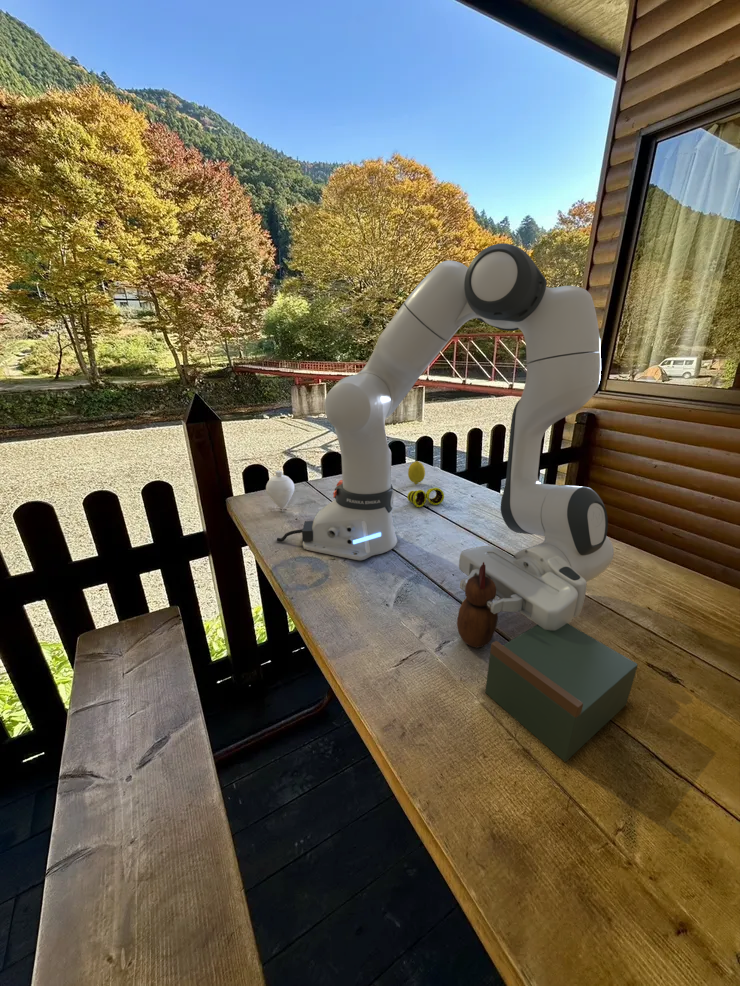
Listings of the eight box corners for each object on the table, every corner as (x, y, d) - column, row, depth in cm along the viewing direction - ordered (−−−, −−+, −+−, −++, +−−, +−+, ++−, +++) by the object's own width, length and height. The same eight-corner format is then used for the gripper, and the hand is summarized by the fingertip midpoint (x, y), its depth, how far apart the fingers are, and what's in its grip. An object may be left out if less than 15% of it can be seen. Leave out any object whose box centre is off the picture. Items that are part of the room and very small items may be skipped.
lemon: (423, 487, 132) (424, 464, 129) (406, 486, 133) (407, 463, 130) (425, 481, 137) (426, 459, 134) (408, 481, 138) (409, 458, 135)
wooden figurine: (486, 659, 62) (496, 574, 57) (451, 645, 65) (457, 563, 60) (499, 633, 68) (509, 553, 62) (465, 621, 71) (472, 544, 65)
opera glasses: (436, 501, 123) (436, 485, 123) (444, 504, 118) (444, 487, 118) (406, 505, 121) (406, 488, 120) (414, 508, 116) (413, 491, 115)
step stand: (484, 692, 57) (491, 643, 54) (546, 651, 64) (554, 605, 61) (565, 762, 47) (578, 707, 44) (626, 705, 55) (641, 654, 51)
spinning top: (276, 519, 110) (272, 477, 106) (264, 510, 116) (259, 470, 111) (301, 512, 115) (298, 471, 110) (288, 504, 120) (284, 465, 116)
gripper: (494, 532, 77) (435, 550, 70) (597, 586, 60) (531, 616, 54) (491, 561, 79) (433, 581, 73) (589, 622, 62) (525, 654, 56)
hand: (475, 596), depth 63 cm, fingers closed on wooden figurine, 4 cm apart
